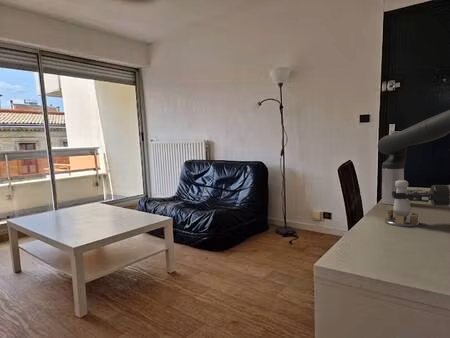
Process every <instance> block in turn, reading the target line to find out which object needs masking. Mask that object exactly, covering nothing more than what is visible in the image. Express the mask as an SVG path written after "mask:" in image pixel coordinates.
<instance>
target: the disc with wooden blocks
mask: <svg viewBox="0 0 450 338" xmlns="http://www.w3.org/2000/svg"><path fill="white" fill-rule="evenodd" d="M384 213H385V214H384V223H385V224H386V225H390V226H395V227H401V228H407V227H408V228H414V227H418V226H419V223H420V222H419V214H418V213H417V212H415V211H412V212H411V215H409V218H408V216H401V215H396V214H394V210H393V209H391V210H386V211H385V212H384ZM394 215H395V217H394Z"/></svg>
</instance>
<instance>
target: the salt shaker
mask: <svg viewBox="0 0 450 338" xmlns="http://www.w3.org/2000/svg"><path fill="white" fill-rule="evenodd" d="M395 186H396V187H397V190H396V193H405V194H406V193H407V190H408V188H407V187H409V182H408V181H407V180H405V179H404V180H398V181H396V182H395ZM410 202H411V201H409V200H406V198H405V199H395V201H394V205H393V209H392V210H393V213H395V214H394V215H401V216H407V217H408V216H410V215H409V214H410V213H411V211H412V208H411V207H412V206H411V203H410Z"/></svg>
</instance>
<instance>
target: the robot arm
mask: <svg viewBox="0 0 450 338" xmlns="http://www.w3.org/2000/svg"><path fill="white" fill-rule="evenodd" d="M448 134H450V109H448V110H446V111H443V112H440V113H439V114H436V115H434V116H431V117H429V118H426V119H424V120H422V121H420V122H418V123H416V124H413V125H410V126H409V127H407V128H404V129H403V130H400V131H398V132H395V133H392V134H387V135H384V136H383V137H382V138H380V139H379V140H378V143H377V150H378V152H379V153H381V154H383V155H388V158H387V159H386V160H384V162H382V165H381V203H382V204H384V205H392V206H394V201H395V199H405V198H406V200H409V202H422V203H423V202H424V203H429V202H430V204H431V205H432V206H433V207H450V184H448V185H447V184H445V185H444V184H433V185H431V186H430V190H429V191H428V190H426V189H423V188H422V189H419V188H417V189H407V193H406V194H405V193H396V190H397V187H396V186H395V182H396V181H398V180H405V172H404V171H405V164H406V163H407V149H408V146H415V145H421V144H424V143H429V142H432V141H435V140H438V139H440V138H443V137H445V136H447V135H448Z"/></svg>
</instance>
